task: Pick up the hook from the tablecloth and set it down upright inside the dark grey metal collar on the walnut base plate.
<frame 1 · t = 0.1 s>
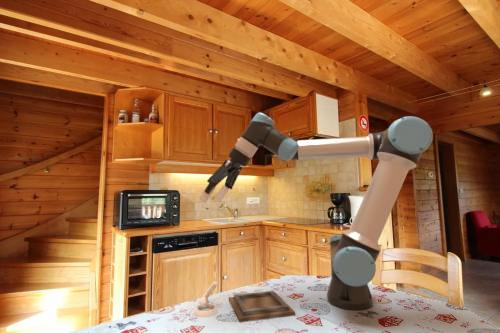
hand: (209, 200, 99), 36 cm above the table, tool tilted 35°, fingers open, 13 cm apart
collar plate: (259, 307, 92), on the table
hook: (205, 313, 88), on the table
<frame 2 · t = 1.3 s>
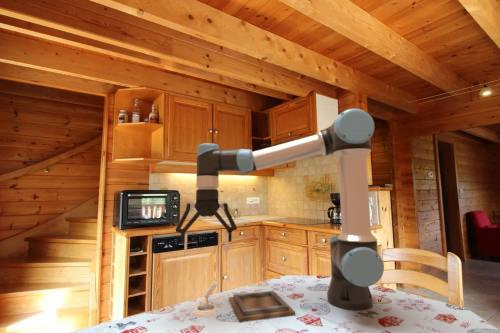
hand: (206, 252, 91), 19 cm above the table, tool pointing down, fingers open, 13 cm apart
nothing on the table moved.
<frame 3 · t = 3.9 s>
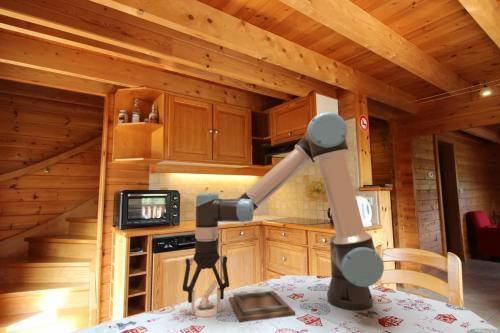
hand: (205, 311, 88), 0 cm above the table, tool pointing down, fingers closed on hook, 8 cm apart
hook: (205, 312, 88), on the table, touching gripper
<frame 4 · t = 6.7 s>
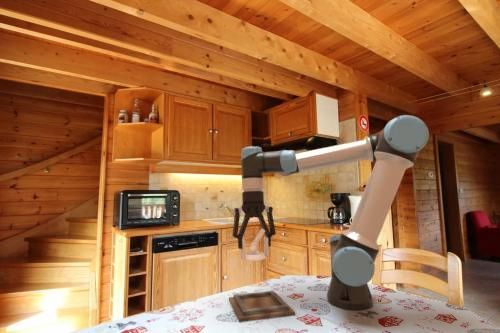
hand: (255, 257, 93), 16 cm above the table, tool pointing down, fingers closed on hook, 8 cm apart
hook: (255, 258, 93), point 16 cm above the table, touching gripper
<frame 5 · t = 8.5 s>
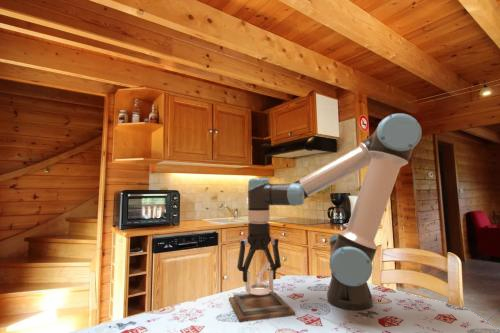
hand: (259, 290, 93), 5 cm above the table, tool pointing down, fingers closed on hook, 8 cm apart
hook: (259, 291, 93), point 5 cm above the table, touching gripper
when the fingers open (3 cm above the table, at t = 9.8 s): hook drops 1 cm, resting on collar plate.
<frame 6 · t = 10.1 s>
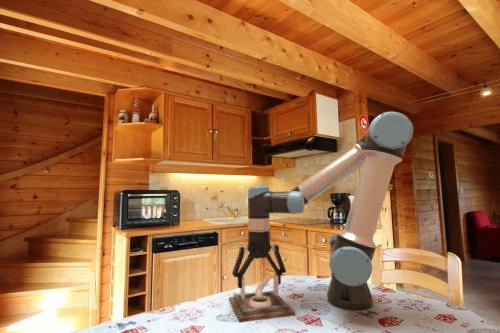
hand: (259, 296, 92), 4 cm above the table, tool pointing down, fingers open, 11 cm apart
hook: (260, 304, 92), point 1 cm above the table, touching collar plate
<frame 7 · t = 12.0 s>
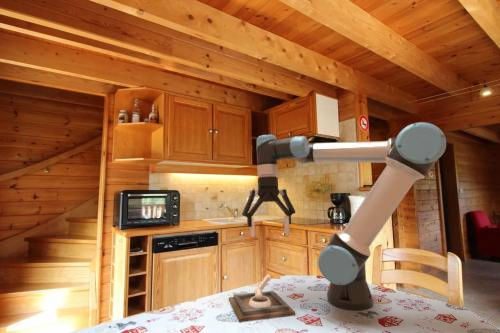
hand: (270, 234, 99), 23 cm above the table, tool pointing down, fingers open, 13 cm apart
nothing on the table moved.
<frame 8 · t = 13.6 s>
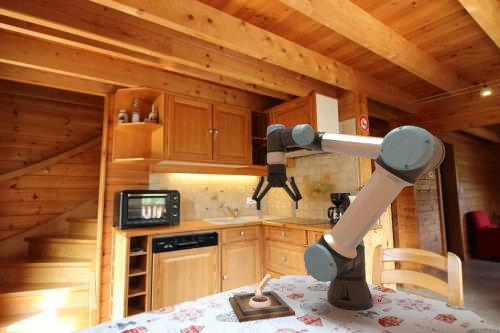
hand: (277, 218, 105), 29 cm above the table, tool pointing down, fingers open, 13 cm apart
nothing on the table moved.
at the end: hook 0.1 cm off-centre on the collar plate, point 0.8 cm above the collar plate's base; hook tilted 0°; the gripper is holding nothing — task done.
